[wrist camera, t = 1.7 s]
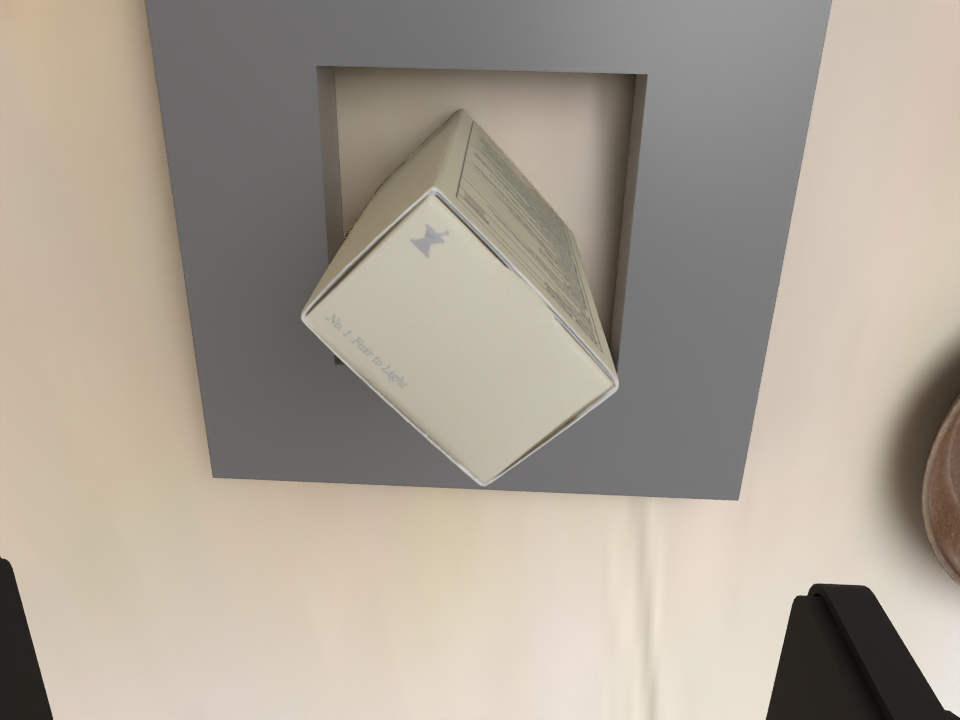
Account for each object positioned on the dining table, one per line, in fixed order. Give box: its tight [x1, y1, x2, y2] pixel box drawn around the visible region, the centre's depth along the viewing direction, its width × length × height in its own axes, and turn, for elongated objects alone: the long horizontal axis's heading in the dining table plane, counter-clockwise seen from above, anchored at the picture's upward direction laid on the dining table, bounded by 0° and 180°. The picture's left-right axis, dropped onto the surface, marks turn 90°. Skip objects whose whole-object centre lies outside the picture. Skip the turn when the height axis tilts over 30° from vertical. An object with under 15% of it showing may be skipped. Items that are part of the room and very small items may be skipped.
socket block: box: [145, 0, 832, 501], centre depth 27 cm, size 20×20×2 cm
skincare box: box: [301, 109, 619, 486], centre depth 23 cm, size 6×4×12 cm
